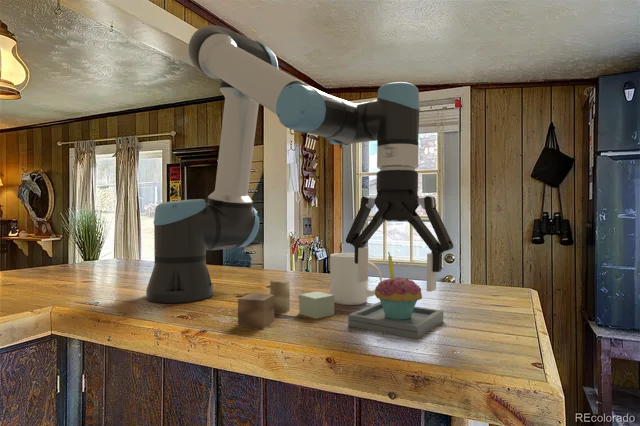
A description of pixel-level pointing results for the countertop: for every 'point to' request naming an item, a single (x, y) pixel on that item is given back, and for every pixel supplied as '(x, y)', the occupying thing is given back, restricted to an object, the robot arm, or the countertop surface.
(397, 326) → the tray
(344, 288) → the mug
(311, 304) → the sage block
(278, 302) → the oak cylinder
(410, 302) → the cupcake
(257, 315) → the walnut block
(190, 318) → the countertop surface
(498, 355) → the countertop surface
